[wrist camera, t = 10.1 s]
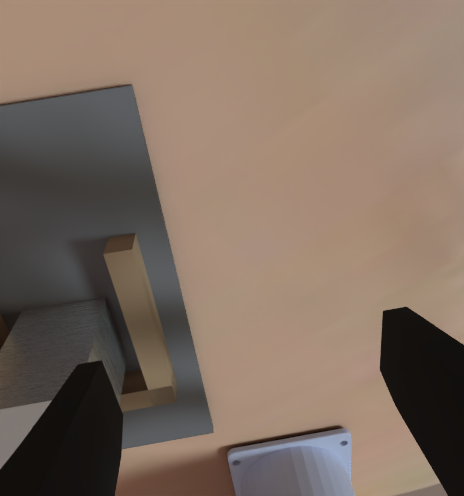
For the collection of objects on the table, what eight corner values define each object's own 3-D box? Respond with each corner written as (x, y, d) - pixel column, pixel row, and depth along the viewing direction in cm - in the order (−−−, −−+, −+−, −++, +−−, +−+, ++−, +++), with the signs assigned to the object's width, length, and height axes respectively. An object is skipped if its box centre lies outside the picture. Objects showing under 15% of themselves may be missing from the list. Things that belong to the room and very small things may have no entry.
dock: (213, 427, 26) (215, 455, 24) (34, 459, 25) (24, 490, 24) (132, 84, 16) (126, 91, 14) (-160, 130, 16) (-200, 143, 14)
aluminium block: (127, 358, 22) (109, 465, 17) (50, 371, 22) (9, 483, 17) (105, 296, 20) (78, 395, 15) (21, 311, 20) (-36, 415, 15)
